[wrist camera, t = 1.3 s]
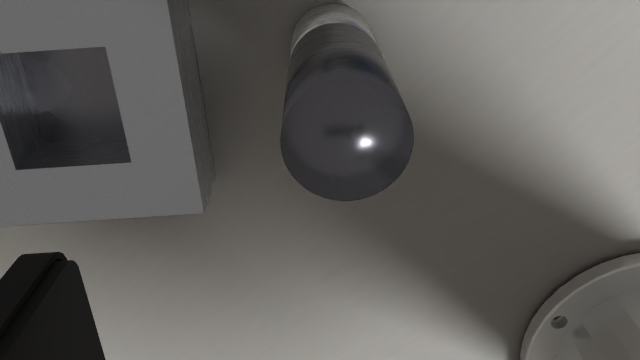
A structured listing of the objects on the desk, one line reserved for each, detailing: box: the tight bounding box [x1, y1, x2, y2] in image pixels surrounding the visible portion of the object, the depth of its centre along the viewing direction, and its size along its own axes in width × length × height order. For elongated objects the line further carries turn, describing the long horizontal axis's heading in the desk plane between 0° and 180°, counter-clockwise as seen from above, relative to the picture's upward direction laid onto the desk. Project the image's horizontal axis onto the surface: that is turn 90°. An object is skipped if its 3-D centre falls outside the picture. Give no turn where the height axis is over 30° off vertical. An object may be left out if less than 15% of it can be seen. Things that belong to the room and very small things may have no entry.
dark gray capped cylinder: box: [280, 4, 414, 201], centre depth 21 cm, size 4×4×11 cm
